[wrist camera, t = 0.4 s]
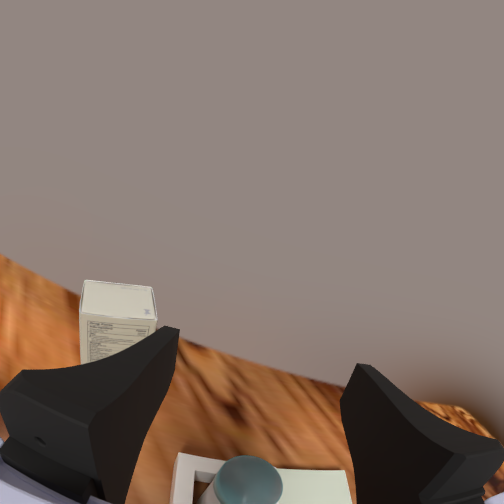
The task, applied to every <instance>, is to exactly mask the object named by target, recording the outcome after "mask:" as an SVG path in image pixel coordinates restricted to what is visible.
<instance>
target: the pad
mask: <svg viewBox="0 0 504 504" xmlns="http://www.w3.org/2000/svg"><path fill="white" fill-rule="evenodd" d="M276 470H277V471H278V473H279V474H280V477H281V479H282V483H283V492H282V495H281V497H280V499H279V504H352V501H351V496H350V492H349V487H348V483H347V478H346V474H345V470H294V469H278V468H276Z"/></svg>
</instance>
